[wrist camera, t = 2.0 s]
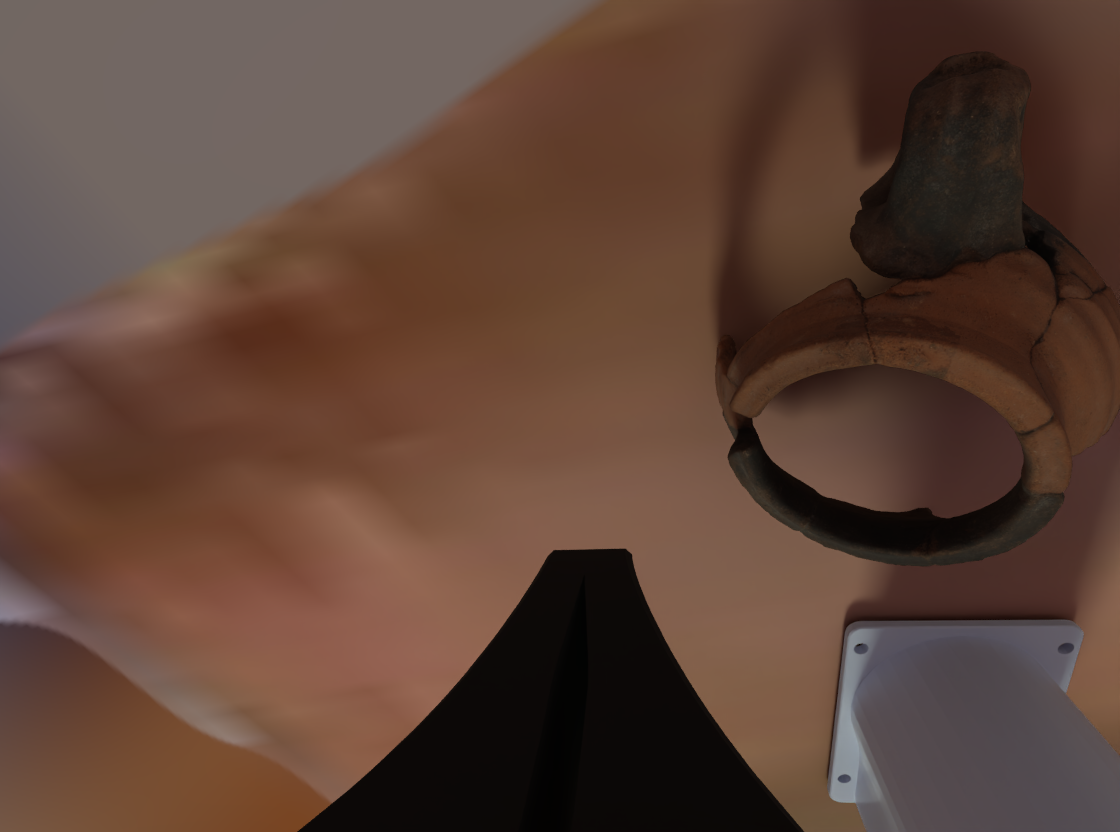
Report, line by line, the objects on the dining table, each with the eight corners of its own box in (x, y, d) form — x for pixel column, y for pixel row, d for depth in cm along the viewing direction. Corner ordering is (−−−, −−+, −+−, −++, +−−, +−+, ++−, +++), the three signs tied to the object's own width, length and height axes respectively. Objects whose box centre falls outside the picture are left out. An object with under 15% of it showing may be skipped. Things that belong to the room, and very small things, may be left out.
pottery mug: (1063, 411, 19) (1096, 630, 14) (764, 395, 24) (704, 549, 19) (1182, -37, 12) (1336, 58, 7) (729, 71, 17) (620, 173, 12)
